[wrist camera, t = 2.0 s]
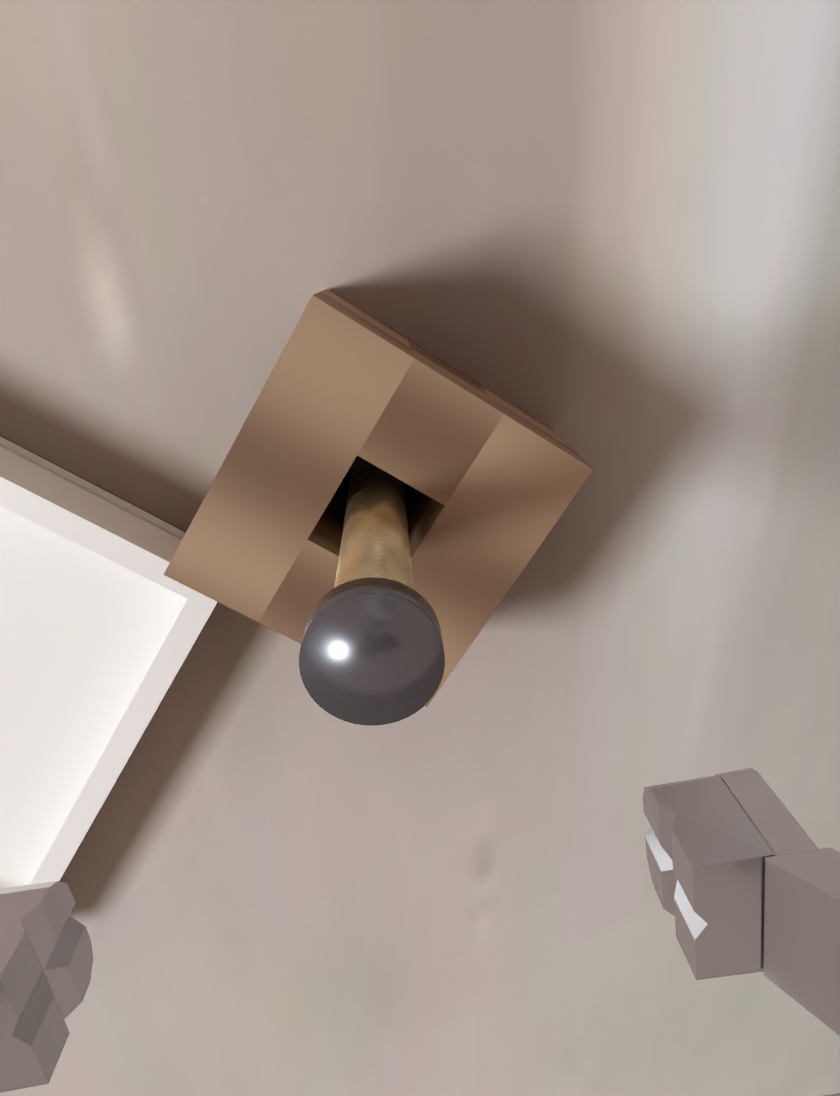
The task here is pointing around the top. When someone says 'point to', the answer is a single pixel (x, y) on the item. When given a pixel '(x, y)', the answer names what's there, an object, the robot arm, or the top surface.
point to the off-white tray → (77, 653)
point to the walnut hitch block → (395, 447)
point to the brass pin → (373, 615)
